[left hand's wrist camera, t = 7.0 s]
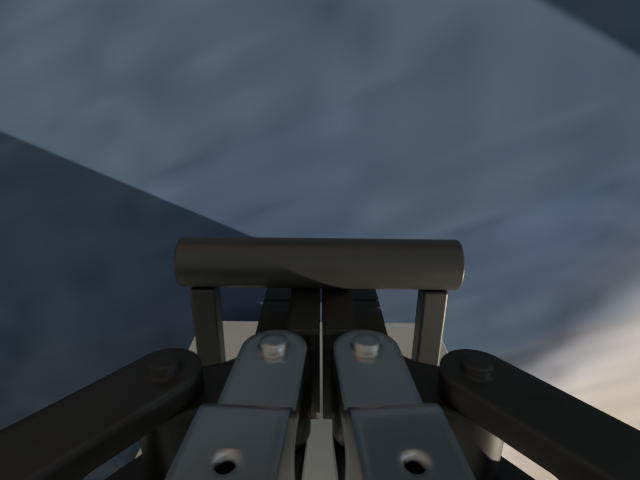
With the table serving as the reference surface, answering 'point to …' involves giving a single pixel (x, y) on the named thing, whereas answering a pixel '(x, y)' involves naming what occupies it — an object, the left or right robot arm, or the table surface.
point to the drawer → (318, 272)
